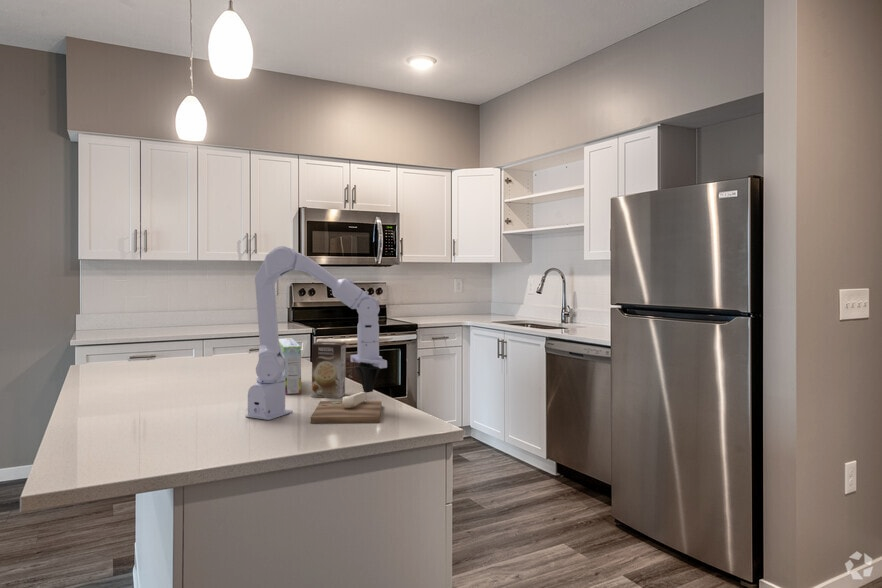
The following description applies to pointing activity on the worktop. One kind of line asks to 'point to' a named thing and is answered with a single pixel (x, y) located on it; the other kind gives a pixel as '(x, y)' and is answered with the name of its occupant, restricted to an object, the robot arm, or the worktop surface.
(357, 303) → the robot arm
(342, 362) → the coffee box
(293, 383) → the snack box
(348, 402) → the white bulb ended bar
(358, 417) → the board
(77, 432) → the worktop surface
